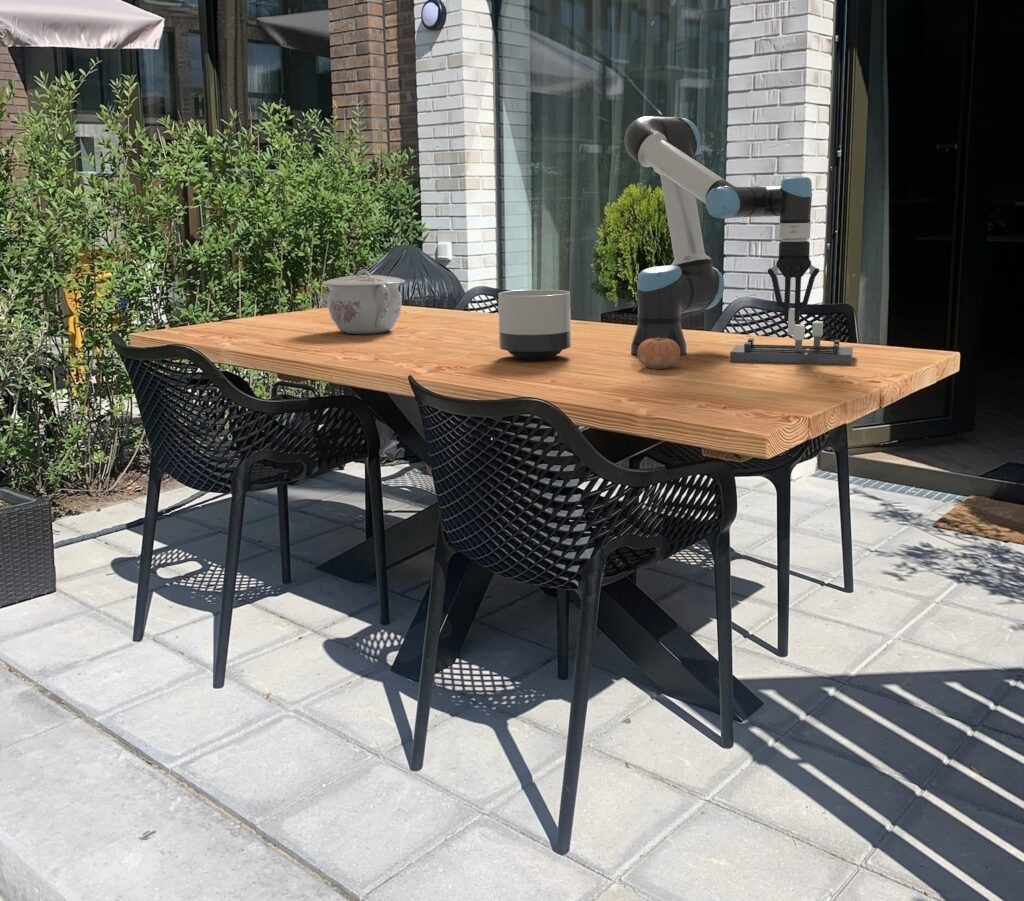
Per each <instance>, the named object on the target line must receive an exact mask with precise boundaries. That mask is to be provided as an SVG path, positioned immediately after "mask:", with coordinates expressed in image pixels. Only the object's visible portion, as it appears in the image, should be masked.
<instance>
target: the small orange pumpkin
mask: <svg viewBox="0 0 1024 901" xmlns="http://www.w3.org/2000/svg"><path fill="white" fill-rule="evenodd" d="M636 356H637V358H638V361H639V362H640V363H641V364H642V365H643V366H645V367H646V368H649V369H652V370H664V369H668V368H671V367H673V366H674V365H675V364H676V363H678V362H679V360H680V357H681V355H680V348H679V346H678V344H677V343H676V342H675V341H674V340H671V339H668V338H659V337H658V338H655V337H654V338H651V339H647V340H645V341H643V342H642V343H641V344H640V346H639V348H638V351H637V355H636Z"/></svg>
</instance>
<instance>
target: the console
mask: <svg viewBox="0 0 1024 901" xmlns="http://www.w3.org/2000/svg"><path fill="white" fill-rule="evenodd" d="M840 341H841V340H840V339H834V341H833V342H834V343H833V345H832V346H831V345H820V347H813V346H814V345H802V351H795V345H789V344H788V345H787V344H755V338H754V337H753V338H752V337H749V338H748V339H747V341H746V342H745V343H744V344H736V345H735V346H734V347H733V349H732V350H731V351H730V353H729V358H730V359H729V361H730V362H734V363H735V362H736V363H766V364H767V363H768V364H769V363H774V364H805V365H806V364H807V365H808V364H810V365H811V364H812V365H813V364H814V365H843V366H845V365H846V366H849V365H850V366H851V365H852V362H853V353H854V347H853V346H847V347H846V346H840Z"/></svg>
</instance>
